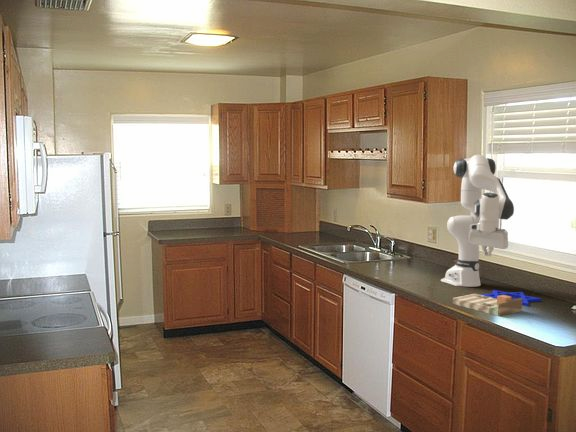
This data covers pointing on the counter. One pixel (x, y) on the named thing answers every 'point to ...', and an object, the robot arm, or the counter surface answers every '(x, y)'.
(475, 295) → the board
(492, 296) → the symbol
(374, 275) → the counter surface
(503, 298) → the block
